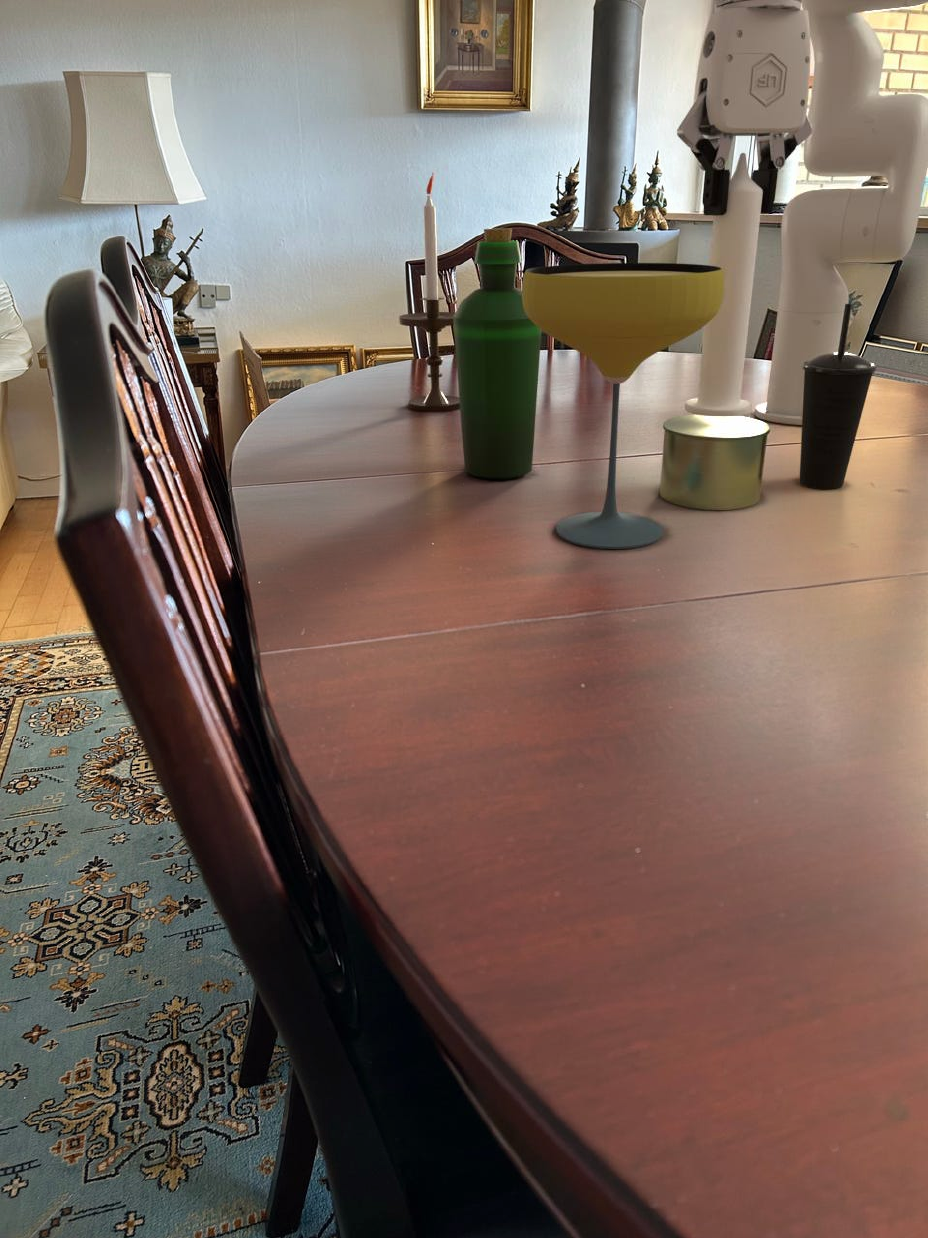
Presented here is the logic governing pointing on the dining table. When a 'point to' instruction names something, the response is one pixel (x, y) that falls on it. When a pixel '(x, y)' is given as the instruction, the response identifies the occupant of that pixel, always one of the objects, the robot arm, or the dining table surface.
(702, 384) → the candle
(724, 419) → the tin
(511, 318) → the bottle
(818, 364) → the drinking cup
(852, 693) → the dining table surface
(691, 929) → the dining table surface
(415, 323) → the candlestick
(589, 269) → the cocktail glass
